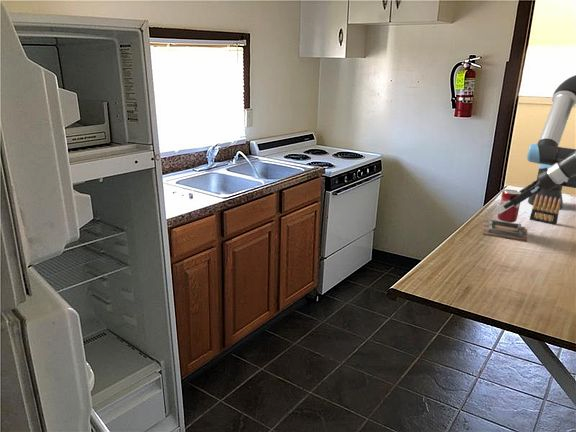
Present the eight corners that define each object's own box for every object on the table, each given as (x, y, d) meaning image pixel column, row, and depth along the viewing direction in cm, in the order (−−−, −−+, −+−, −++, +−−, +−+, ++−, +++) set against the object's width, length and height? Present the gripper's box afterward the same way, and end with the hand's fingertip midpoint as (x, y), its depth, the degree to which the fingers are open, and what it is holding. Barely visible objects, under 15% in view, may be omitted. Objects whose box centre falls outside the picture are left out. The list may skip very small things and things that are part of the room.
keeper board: (484, 222, 207) (484, 217, 206) (524, 228, 201) (525, 223, 200) (483, 234, 193) (484, 229, 192) (526, 241, 187) (527, 236, 186)
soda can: (497, 221, 193) (502, 192, 189) (496, 215, 199) (502, 188, 195) (516, 224, 190) (522, 195, 186) (515, 218, 197) (521, 190, 193)
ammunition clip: (556, 224, 208) (563, 198, 204) (555, 225, 207) (562, 198, 203) (530, 218, 214) (535, 192, 210) (529, 219, 213) (534, 193, 209)
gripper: (556, 190, 173) (500, 222, 187) (560, 179, 190) (509, 210, 203) (543, 174, 174) (488, 207, 188) (548, 164, 190) (498, 195, 204)
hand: (499, 208), depth 195 cm, fingers closed on soda can, 7 cm apart
